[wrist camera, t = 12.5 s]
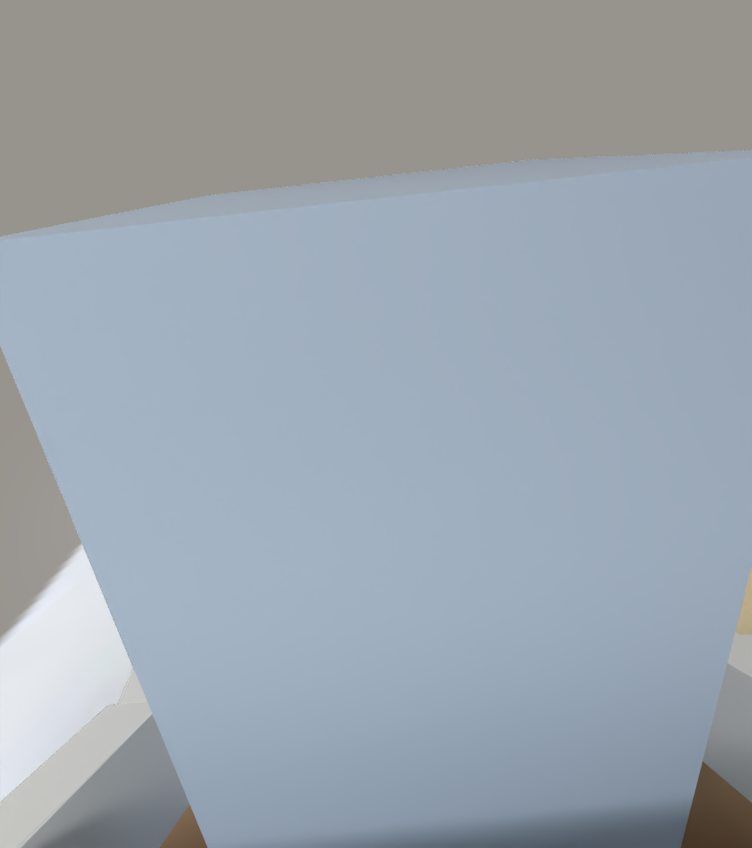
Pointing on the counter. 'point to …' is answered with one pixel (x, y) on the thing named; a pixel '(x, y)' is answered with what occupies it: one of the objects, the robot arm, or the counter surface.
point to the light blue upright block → (413, 489)
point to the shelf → (702, 843)
